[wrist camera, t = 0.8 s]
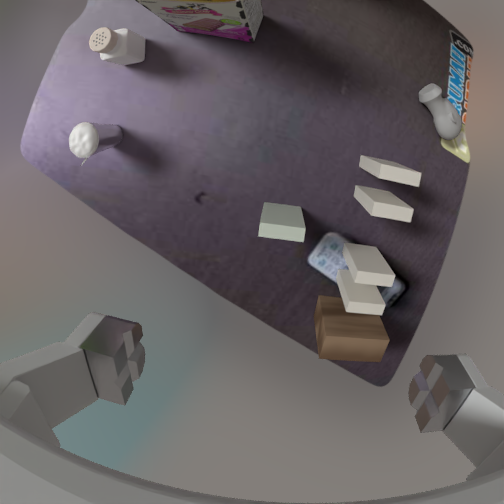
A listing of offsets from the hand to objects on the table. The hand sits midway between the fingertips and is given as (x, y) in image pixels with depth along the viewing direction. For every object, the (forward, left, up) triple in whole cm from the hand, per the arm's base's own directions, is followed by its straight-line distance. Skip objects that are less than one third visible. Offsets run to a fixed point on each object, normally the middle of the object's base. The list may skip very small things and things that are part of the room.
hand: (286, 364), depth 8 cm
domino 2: (-3, +13, -35) cm, 37 cm away
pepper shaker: (-16, -22, -35) cm, 45 cm away
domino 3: (+1, +13, -35) cm, 37 cm away
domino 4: (+10, +13, -35) cm, 39 cm away
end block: (+20, +13, -35) cm, 42 cm away
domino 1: (+6, +1, -35) cm, 36 cm away
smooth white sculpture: (-13, +21, -35) cm, 43 cm away
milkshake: (-3, -24, -35) cm, 43 cm away
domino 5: (+14, +13, -35) cm, 40 cm away
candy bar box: (-20, -10, -35) cm, 42 cm away
